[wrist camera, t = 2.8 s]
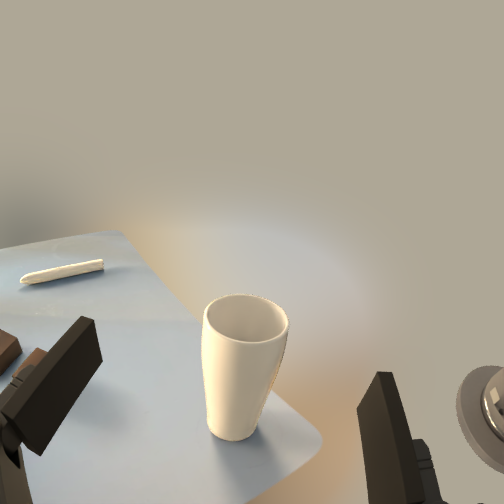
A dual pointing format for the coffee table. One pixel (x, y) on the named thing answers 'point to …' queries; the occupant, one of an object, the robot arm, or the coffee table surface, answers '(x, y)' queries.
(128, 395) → the coffee table surface
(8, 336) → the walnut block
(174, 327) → the coffee table surface
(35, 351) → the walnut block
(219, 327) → the drinking glass
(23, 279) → the marker
